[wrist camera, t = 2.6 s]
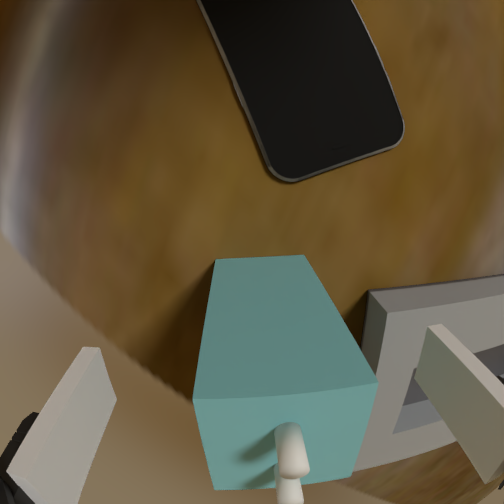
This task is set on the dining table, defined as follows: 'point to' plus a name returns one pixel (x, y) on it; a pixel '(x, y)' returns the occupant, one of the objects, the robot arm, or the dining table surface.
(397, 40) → the dining table surface
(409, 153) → the dining table surface
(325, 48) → the smartphone
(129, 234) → the dining table surface
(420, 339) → the grey slotted tray
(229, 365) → the block
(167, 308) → the dining table surface
